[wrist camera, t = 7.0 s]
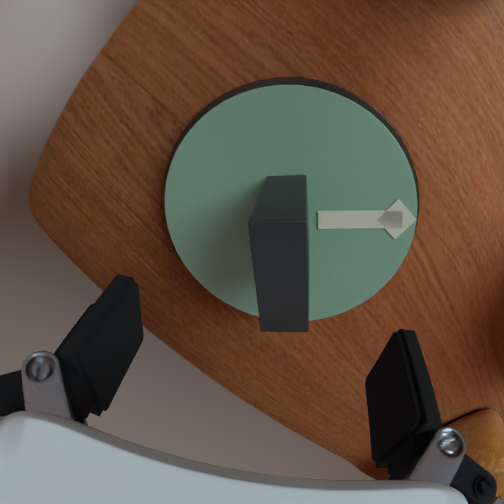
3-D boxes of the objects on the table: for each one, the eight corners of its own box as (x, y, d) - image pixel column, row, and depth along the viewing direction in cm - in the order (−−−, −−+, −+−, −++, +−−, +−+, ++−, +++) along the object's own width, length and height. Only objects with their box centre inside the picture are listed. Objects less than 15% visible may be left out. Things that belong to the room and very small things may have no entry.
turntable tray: (149, 103, 18) (75, 120, 12) (417, 86, 15) (480, 91, 8) (193, 313, 26) (161, 383, 20) (398, 313, 23) (418, 389, 16)
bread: (494, 395, 29) (522, 503, 14) (508, 442, 36) (523, 512, 21) (397, 443, 36) (402, 547, 21) (441, 474, 43) (447, 543, 28)
